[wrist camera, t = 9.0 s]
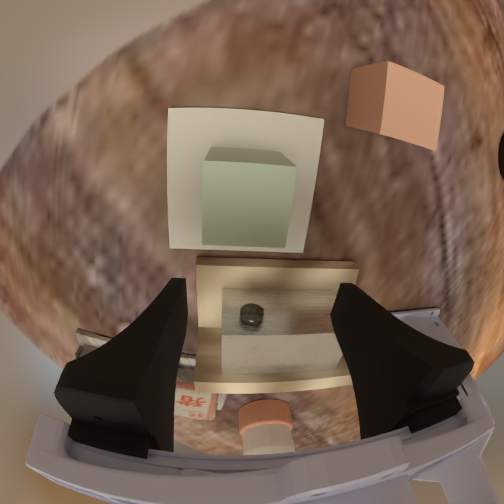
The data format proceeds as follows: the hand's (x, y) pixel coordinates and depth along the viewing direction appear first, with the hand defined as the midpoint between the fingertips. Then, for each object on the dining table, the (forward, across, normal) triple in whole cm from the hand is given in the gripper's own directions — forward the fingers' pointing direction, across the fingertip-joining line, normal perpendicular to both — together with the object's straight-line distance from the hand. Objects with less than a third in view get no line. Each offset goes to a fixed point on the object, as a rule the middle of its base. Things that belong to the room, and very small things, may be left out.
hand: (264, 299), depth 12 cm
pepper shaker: (+9, -4, +28) cm, 30 cm away
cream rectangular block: (+7, -3, +7) cm, 10 cm away
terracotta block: (+9, -8, -10) cm, 16 cm away
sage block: (+8, +1, -3) cm, 9 cm away
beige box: (+9, -3, +7) cm, 11 cm away
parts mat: (+9, +1, -3) cm, 9 cm away
